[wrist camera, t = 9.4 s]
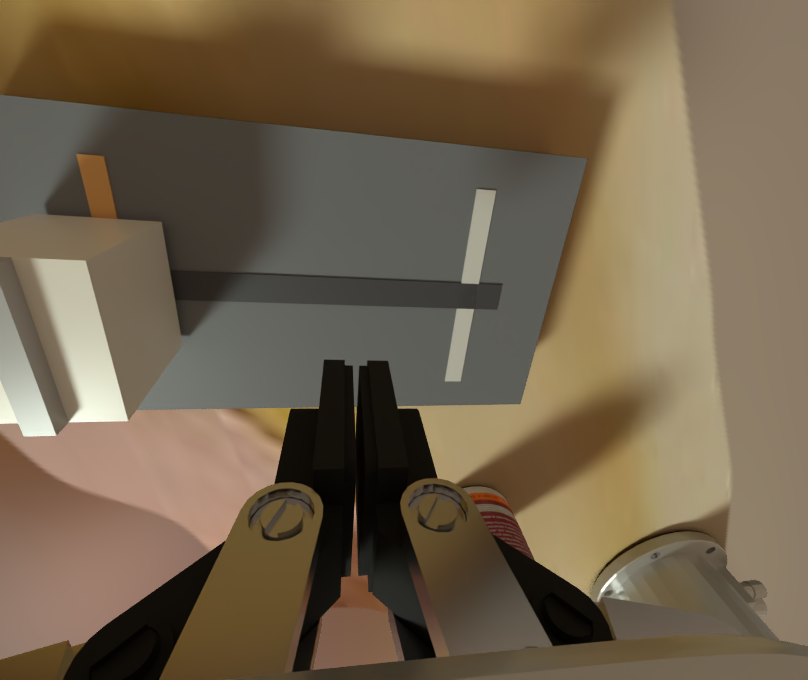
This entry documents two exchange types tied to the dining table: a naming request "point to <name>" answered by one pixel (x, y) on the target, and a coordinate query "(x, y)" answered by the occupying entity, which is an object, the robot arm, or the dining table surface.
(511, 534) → the pill bottle
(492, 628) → the robot arm
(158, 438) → the dining table surface
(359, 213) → the fader console
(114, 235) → the fader knob
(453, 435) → the dining table surface
